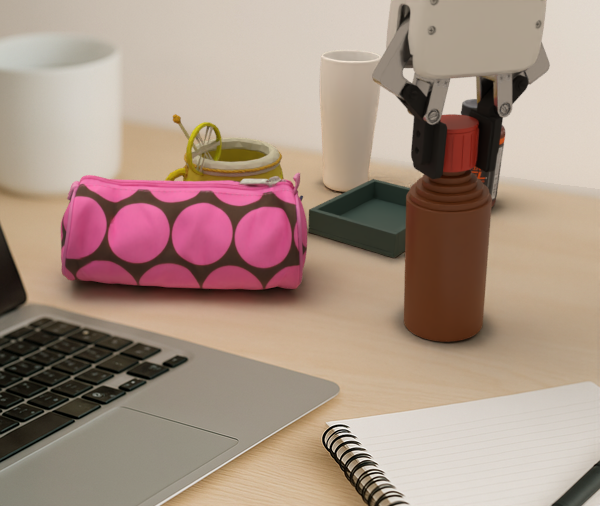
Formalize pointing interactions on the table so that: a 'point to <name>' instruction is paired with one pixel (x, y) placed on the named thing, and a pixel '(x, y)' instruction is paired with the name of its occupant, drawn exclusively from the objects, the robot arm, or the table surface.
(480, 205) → the bottle
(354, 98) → the drinking glass
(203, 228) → the pencil case
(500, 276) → the table surface
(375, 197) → the tray
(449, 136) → the cap
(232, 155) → the yellow round vessel
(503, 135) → the supplement bottle
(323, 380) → the table surface
